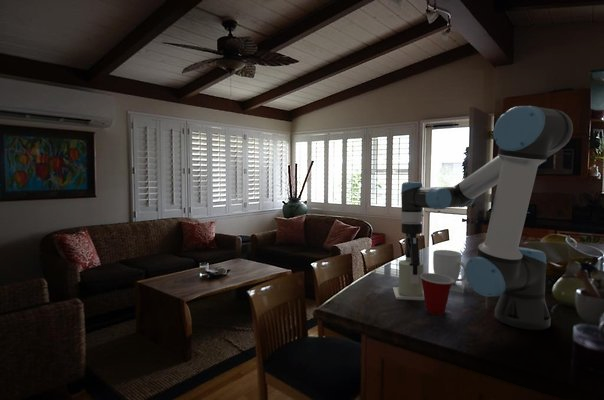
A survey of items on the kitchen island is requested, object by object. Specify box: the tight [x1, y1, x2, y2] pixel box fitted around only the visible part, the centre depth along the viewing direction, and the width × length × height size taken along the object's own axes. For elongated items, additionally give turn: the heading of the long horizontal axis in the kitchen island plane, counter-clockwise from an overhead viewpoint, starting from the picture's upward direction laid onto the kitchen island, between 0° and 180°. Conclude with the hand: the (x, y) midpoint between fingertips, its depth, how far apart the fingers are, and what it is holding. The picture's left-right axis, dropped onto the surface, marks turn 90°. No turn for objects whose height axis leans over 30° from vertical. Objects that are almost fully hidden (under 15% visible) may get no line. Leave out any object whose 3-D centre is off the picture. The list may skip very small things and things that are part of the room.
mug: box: [432, 249, 467, 285], centre depth 155 cm, size 15×11×13 cm
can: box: [398, 259, 425, 296], centre depth 141 cm, size 9×9×12 cm
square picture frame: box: [392, 286, 425, 301], centre depth 142 cm, size 12×12×1 cm
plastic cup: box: [420, 272, 454, 316], centre depth 124 cm, size 11×11×12 cm
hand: (411, 278), depth 141 cm, fingers open, 13 cm apart
